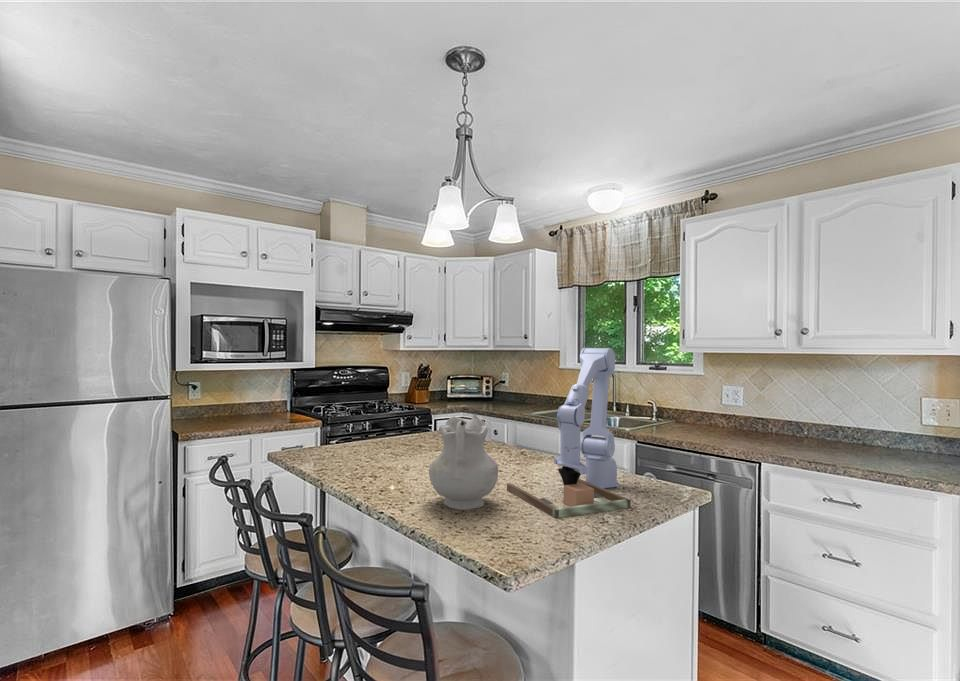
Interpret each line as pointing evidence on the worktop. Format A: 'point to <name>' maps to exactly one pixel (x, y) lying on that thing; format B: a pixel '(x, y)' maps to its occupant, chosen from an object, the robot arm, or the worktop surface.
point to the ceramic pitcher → (463, 464)
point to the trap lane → (556, 511)
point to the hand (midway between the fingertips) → (569, 493)
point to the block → (578, 495)
